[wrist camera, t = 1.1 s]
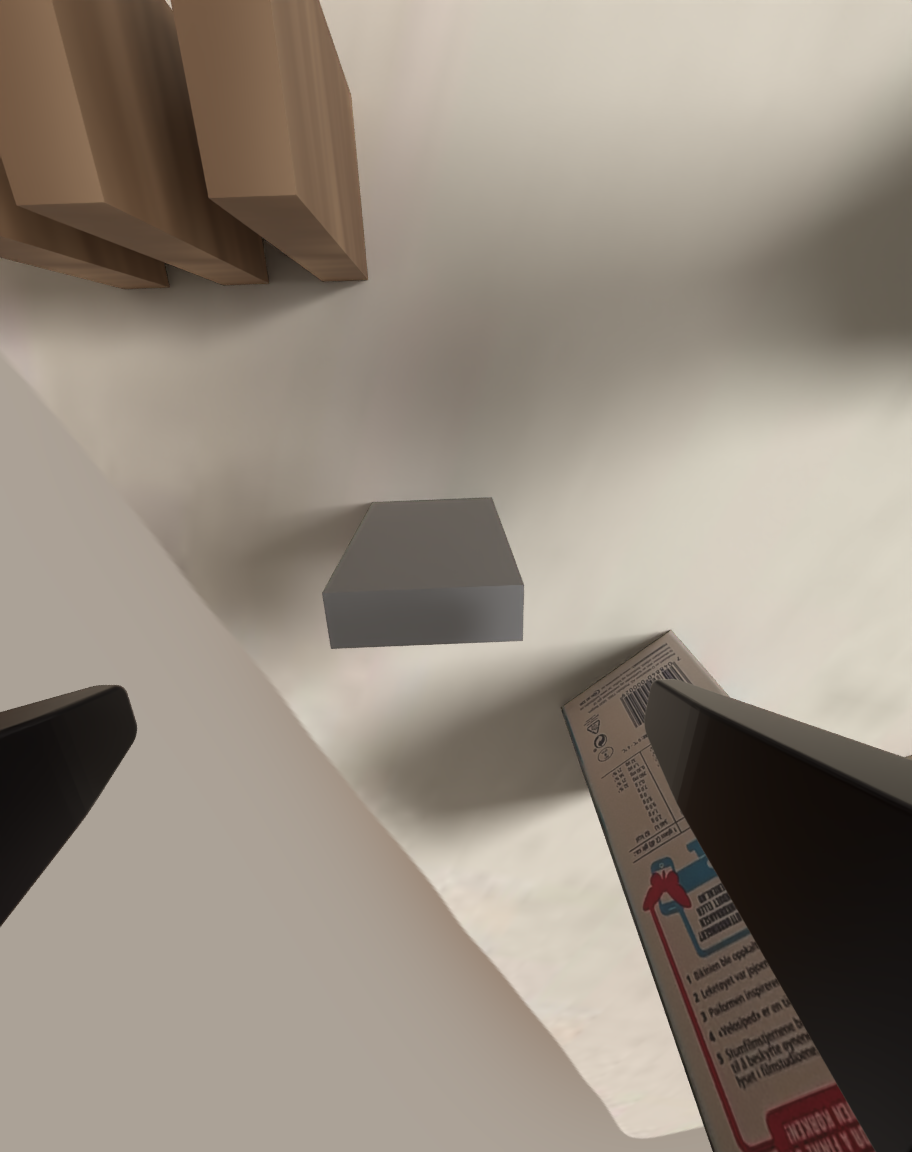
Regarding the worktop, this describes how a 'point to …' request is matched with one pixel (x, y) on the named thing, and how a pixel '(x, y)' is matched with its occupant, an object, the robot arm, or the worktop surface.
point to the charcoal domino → (426, 578)
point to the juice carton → (701, 934)
